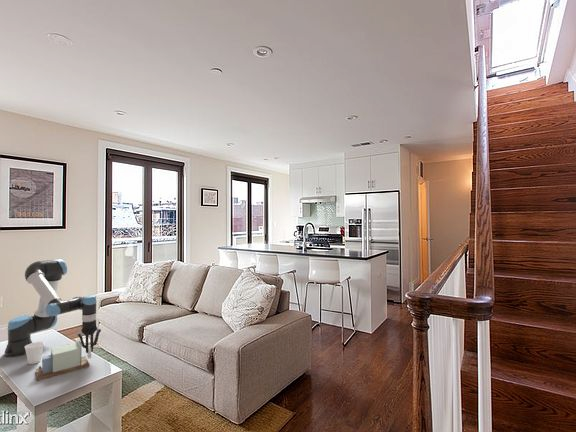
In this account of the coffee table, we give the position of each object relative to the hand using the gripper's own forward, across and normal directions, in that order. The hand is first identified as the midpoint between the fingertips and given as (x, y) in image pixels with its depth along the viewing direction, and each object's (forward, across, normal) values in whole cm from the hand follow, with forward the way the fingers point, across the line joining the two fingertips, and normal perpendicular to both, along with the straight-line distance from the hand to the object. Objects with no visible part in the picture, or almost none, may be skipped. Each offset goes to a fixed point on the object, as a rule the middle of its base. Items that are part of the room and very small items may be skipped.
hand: (89, 357), depth 196 cm
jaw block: (+1, -21, 0) cm, 21 cm away
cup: (+3, -26, +23) cm, 35 cm away
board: (+3, -14, 0) cm, 14 cm away
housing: (+1, -12, 0) cm, 12 cm away
